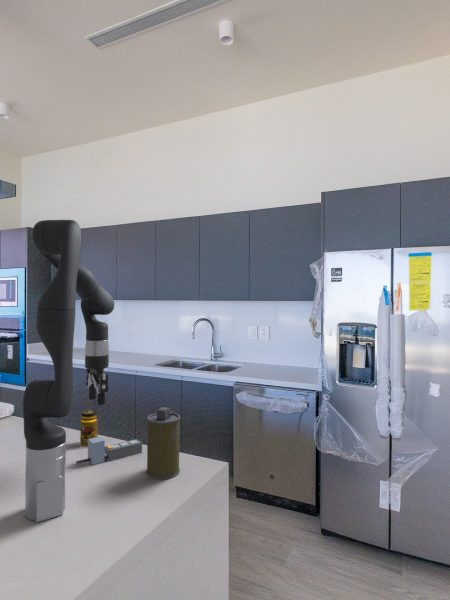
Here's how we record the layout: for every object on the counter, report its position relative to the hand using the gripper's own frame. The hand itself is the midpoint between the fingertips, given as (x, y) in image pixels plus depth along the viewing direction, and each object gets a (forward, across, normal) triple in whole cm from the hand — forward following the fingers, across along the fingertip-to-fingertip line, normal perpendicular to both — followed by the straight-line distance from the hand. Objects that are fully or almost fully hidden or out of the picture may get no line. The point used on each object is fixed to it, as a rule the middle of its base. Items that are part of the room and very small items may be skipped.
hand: (96, 402), depth 127 cm
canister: (+20, -20, -14) cm, 32 cm away
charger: (+20, 0, +1) cm, 20 cm away
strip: (+20, 0, -10) cm, 22 cm away
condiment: (+20, +18, -4) cm, 27 cm away
